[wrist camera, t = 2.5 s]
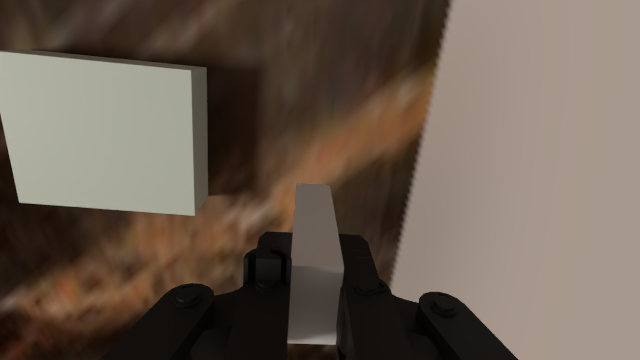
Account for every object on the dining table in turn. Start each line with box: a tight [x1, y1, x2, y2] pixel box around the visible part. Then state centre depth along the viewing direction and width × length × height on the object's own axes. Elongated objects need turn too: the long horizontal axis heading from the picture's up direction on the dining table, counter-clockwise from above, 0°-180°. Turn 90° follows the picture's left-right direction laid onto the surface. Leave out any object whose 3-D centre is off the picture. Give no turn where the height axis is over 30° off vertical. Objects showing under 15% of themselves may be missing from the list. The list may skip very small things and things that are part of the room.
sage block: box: [0, 50, 208, 216], centre depth 25 cm, size 12×10×4 cm
